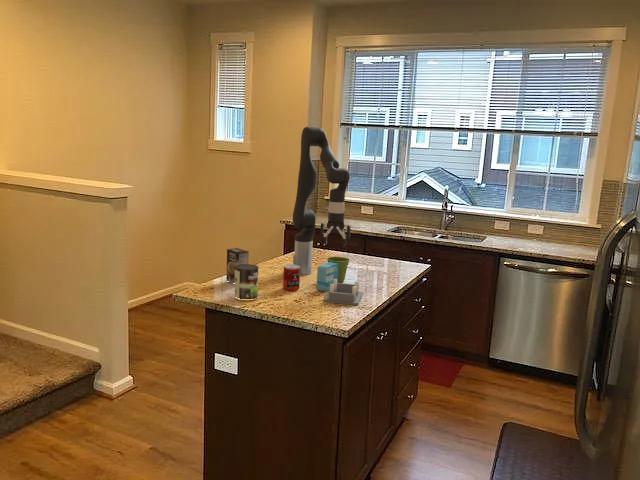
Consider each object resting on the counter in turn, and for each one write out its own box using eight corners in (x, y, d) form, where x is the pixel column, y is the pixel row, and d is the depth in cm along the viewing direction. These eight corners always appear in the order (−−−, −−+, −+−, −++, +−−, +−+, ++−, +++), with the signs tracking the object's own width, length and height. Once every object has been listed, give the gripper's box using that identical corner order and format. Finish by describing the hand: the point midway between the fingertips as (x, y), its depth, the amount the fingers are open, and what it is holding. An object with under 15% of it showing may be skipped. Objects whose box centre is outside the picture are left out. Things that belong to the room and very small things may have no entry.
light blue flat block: (324, 292, 256) (325, 267, 254) (316, 290, 259) (317, 265, 257) (337, 287, 267) (338, 263, 264) (329, 285, 269) (330, 261, 267)
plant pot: (353, 281, 279) (355, 259, 277) (338, 285, 270) (339, 262, 268) (336, 276, 287) (337, 255, 285) (320, 280, 278) (321, 258, 276)
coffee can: (262, 297, 244) (263, 266, 241) (247, 302, 235) (248, 270, 233) (244, 293, 249) (245, 262, 247) (229, 298, 241) (229, 266, 238)
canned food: (287, 291, 255) (287, 268, 253) (280, 287, 262) (280, 264, 260) (302, 290, 258) (303, 267, 256) (294, 286, 265) (295, 263, 263)
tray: (323, 301, 242) (324, 286, 241) (331, 291, 259) (331, 276, 258) (357, 305, 239) (358, 289, 238) (362, 294, 257) (363, 279, 255)
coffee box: (225, 281, 266) (226, 249, 264) (236, 279, 271) (237, 247, 268) (237, 286, 260) (238, 252, 257) (248, 283, 265) (249, 250, 262)
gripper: (319, 211, 255) (318, 245, 258) (350, 213, 252) (348, 248, 255) (323, 209, 263) (321, 242, 266) (352, 211, 259) (351, 245, 262)
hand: (334, 245), depth 260 cm, fingers open, 8 cm apart
